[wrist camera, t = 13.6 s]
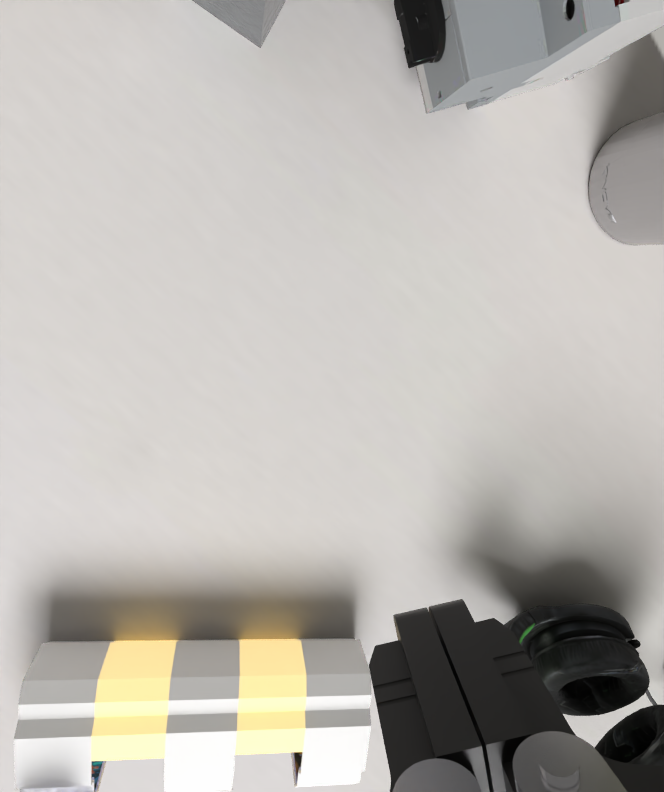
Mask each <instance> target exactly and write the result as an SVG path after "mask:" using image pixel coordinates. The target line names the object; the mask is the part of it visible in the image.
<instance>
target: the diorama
mask: <svg viewBox="0 0 664 792" xmlns="http://www.w3.org/2000/svg"><path fill="white" fill-rule="evenodd" d="M370 702H371V675H370V671H369V667H368V664H367V661H366V658H365V655H364V652H363V648H362V645H361V642H360V640H355V638H342V639H245V640H148V641H51V642H48V643H42V644H41V646H40V648H39V650H38V652H37V654H36V656H35V658H34V660H33V662H32V664H31V666H30V668H29V670H28V672H27V674H26V676H25V678H24V680H23V683H22V688H21V693H20V698H19V703H18V724H17V728H16V732H15V736H14V770H15V790H16V789H20V792H98V790H99V787H100V783H101V779H102V775H103V771H104V768H105V764H106V761H109V760H131V759H154V758H165V762H164V782H165V785H164V792H216V791H231V790H232V782H233V777H234V764H235V755H244V754H266V753H289V752H291V757H292V766H293V776H294V785H295V787H307V786H325V785H343V784H357V783H359V782H360V777H361V772H365V767H366V760H367V752H368V745H369V738H370V730H371V719H370Z"/></svg>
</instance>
